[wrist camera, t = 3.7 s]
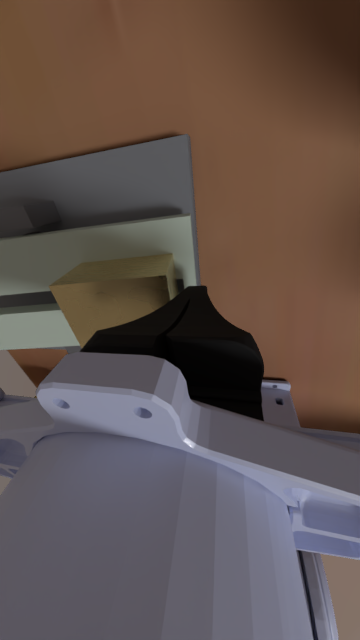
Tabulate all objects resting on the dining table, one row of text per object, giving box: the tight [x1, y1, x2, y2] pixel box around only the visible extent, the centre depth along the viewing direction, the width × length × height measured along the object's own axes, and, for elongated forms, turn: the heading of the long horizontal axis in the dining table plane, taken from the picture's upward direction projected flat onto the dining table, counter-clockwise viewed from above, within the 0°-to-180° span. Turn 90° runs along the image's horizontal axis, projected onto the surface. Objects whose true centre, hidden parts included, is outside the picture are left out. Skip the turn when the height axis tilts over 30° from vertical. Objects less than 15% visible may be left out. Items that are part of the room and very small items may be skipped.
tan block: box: [49, 253, 179, 348], centre depth 13 cm, size 6×5×4 cm
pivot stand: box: [0, 134, 201, 354], centre depth 17 cm, size 22×16×4 cm
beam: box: [0, 213, 197, 350], centre depth 16 cm, size 22×9×2 cm, turn 97°
